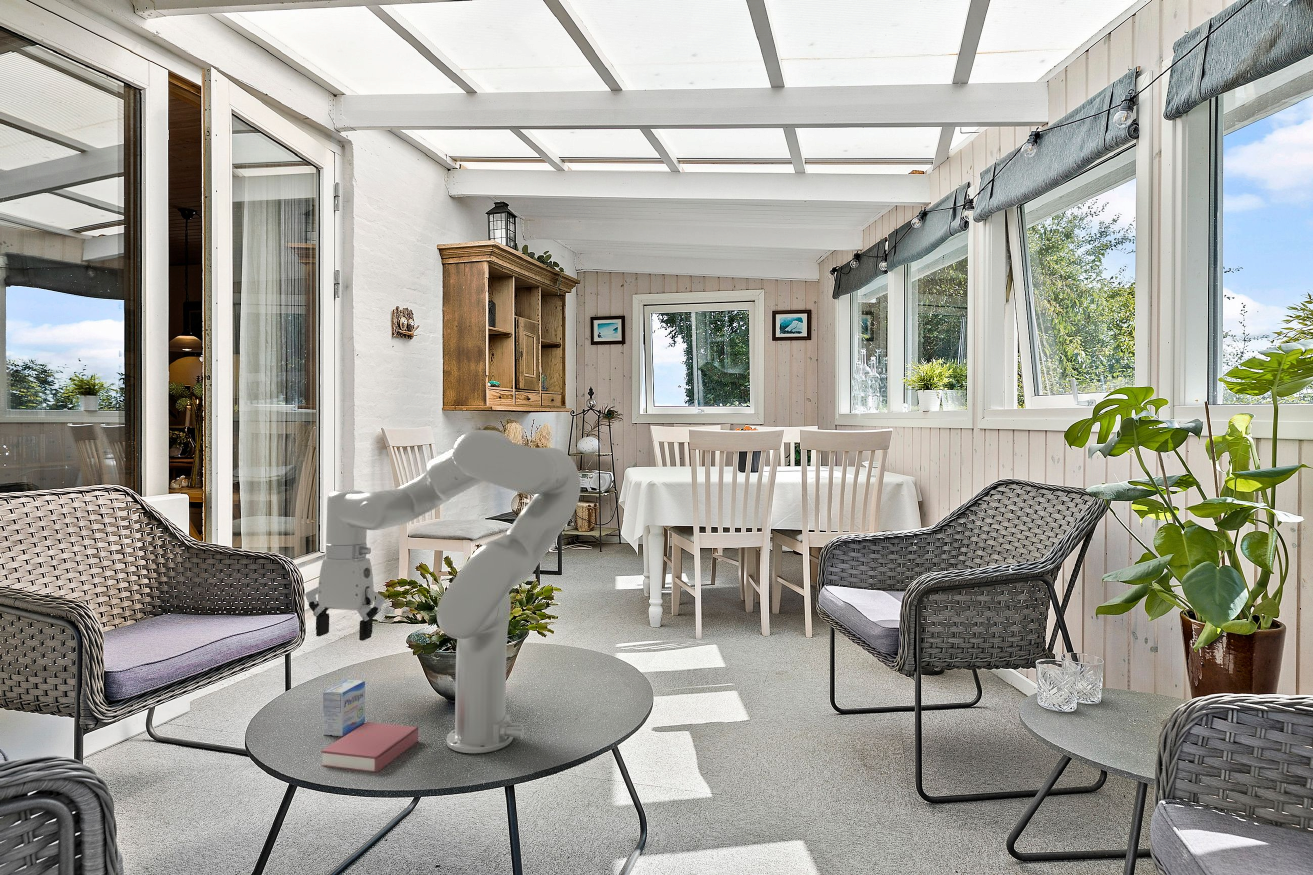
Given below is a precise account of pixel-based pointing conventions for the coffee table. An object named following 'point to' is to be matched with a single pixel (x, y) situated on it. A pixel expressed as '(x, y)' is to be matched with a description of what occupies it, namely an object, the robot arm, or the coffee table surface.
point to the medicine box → (343, 707)
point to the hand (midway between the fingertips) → (343, 636)
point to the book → (370, 747)
